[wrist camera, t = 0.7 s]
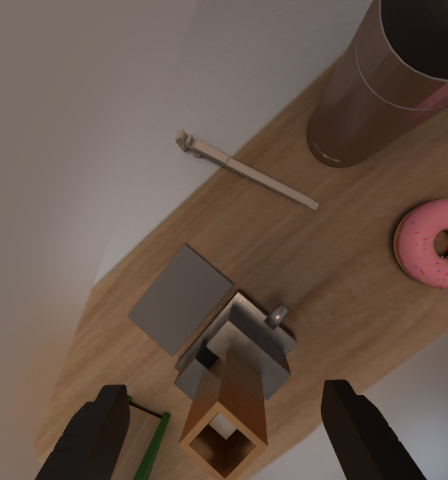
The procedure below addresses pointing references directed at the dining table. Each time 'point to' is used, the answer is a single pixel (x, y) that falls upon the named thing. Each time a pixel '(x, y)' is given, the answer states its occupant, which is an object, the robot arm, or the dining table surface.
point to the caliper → (240, 168)
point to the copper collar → (235, 411)
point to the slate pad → (179, 299)
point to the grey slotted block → (239, 349)
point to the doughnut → (423, 243)
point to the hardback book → (140, 445)
